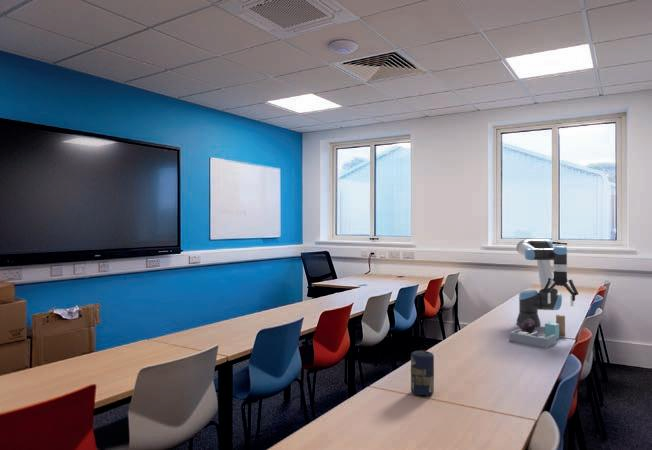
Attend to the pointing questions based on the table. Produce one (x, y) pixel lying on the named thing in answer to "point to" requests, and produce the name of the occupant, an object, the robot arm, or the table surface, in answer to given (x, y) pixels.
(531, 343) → the lane rack
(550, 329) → the block
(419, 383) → the canister
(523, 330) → the rock
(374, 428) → the table surface
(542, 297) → the robot arm
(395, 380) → the table surface
